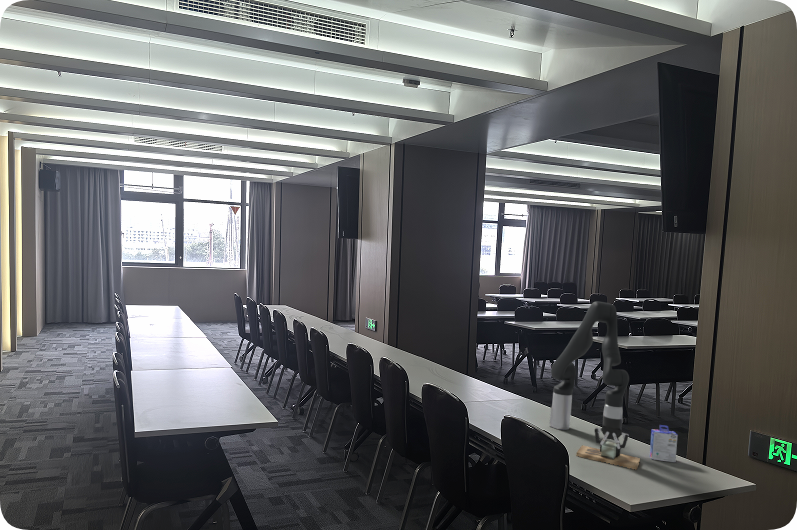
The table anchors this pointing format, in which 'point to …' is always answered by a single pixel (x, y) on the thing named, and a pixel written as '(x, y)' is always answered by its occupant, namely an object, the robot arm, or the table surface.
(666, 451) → the ink cartridge box
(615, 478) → the table surface
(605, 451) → the block
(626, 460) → the tan wooden board
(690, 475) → the table surface
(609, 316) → the robot arm
